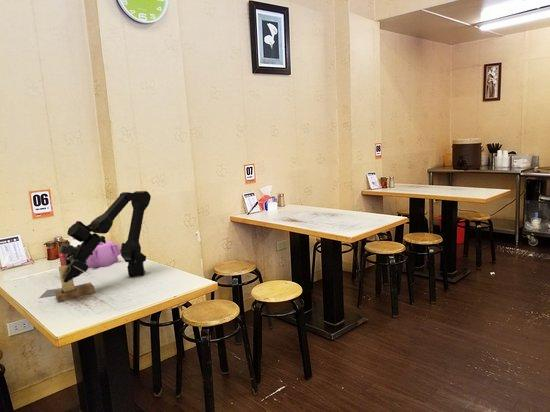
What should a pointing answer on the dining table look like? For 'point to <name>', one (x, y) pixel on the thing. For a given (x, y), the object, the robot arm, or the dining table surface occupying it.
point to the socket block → (75, 292)
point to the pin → (63, 272)
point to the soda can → (62, 259)
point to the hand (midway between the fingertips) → (62, 279)
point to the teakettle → (104, 255)
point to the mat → (49, 293)
